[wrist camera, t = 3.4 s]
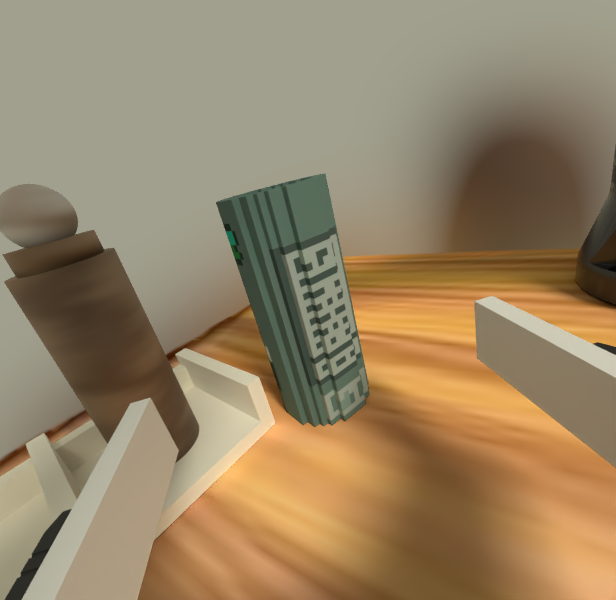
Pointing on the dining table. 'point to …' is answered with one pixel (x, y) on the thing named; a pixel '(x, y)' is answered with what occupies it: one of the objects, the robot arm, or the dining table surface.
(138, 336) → the pepper mill
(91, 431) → the caddy
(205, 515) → the dining table surface
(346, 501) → the dining table surface
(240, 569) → the dining table surface
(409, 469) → the dining table surface
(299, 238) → the can
